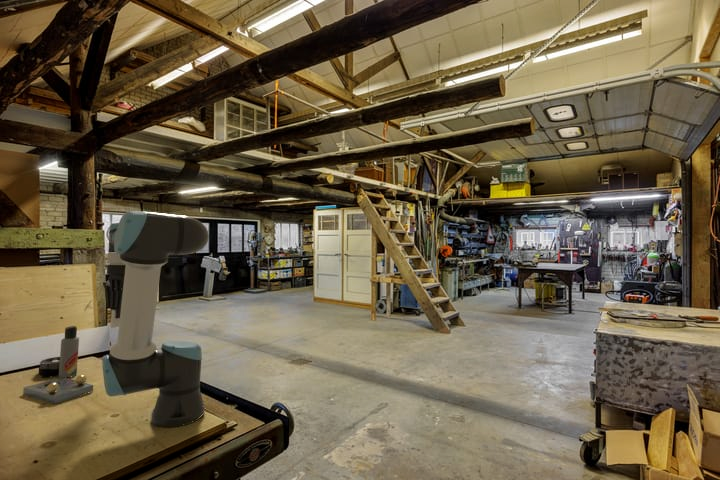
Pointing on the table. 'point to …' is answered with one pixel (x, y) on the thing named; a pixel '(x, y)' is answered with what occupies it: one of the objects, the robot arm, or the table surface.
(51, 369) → the cpu cooler
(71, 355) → the lotion bottle
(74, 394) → the bearing plate
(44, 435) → the table surface
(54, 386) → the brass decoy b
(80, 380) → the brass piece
